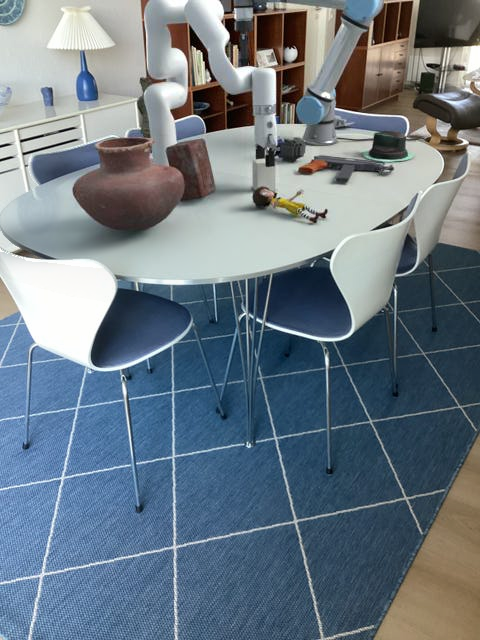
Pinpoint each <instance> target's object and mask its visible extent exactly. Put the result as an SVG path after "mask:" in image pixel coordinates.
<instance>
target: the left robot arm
mask: <svg viewBox="0 0 480 640" xmlns="http://www.w3.org/2000/svg"><path fill="white" fill-rule="evenodd" d="M143 11H144V12H143V20H144V21H143V22H144V28H145V37H146V40H145V41H146V42H145V43H146V68H147V73H148V75H149V77H150V78H152V79H153V80H165V79H166V80H165V81H161V82H156V83H152V85H151V86H149V87H148V88H147V89H146V91H145V93H144V102H145V106H146V109H147V113H148V118H149V126H150V135H151V139H153V140H154V143H153V144H152V151H151V155H152V158H151V157H150V160H151V162H152V163H154V164H158V165H164V166H169V163H168V159H167V155H166V148H167V147H170V146H172V145H175V144H177V143H178V141H177V129H176V122H175V121H176V120H175V118H174V116H173V114H172V112H171V110H175V109H177V108H181V107H183V106H184V105H185V104H186V102H187V100H188V93H189V92H188V90H189V88H188V87H189V81H188V80H189V79H188V78H189V67H188V66H189V65H188V64H189V63H188V60H187V57H186V55H185V53H184V52H183V51H182V50H181V49H179V48H176V47H172V35H171V31H170V29H169V27H168V25H172V24H173V25H174V24H189V26H190V27H191V29H192V30H193V31H194V33H195V34H196V36H197V37H198V38H199V40H200V42H201V43H202V44H203V46H204V48H205V49H206V51H207V54H208V57H207V59H208V63H209V68H210V71H211V73H212V75H213V76H214V78H215V79H216V81H217V83H218V84H219V86H220V87H221V88H222V89H223V90H224V91H225V92H226V93H228V94H230V95H233V96H235V95H239V94H244V93H248V92H252V116H254V130H253V131H254V142H255V144H254V145H255V146H254V147H255V159H265V166H266V167H273V166H275V162H276V157H275V150H276V149H275V147H276V146H277V136H278V130H277V128H278V127H277V119H276V115H277V73H276V70H275V69H274V68H272V67H256V66H251V65H249V66H245V67H241V66H240V67H234V66H233V64H232V63H231V61H230V60H229V58H228V56H227V54H226V50H225V47H226V46H227V44H228V43H229V41H230V39H231V38H230V32H229V31H228V30H227V28H226V27H225V26H224V24H223V23H222V21H223V20H224V15H225V10H224V6H223V4H222V2H221V1H220V0H148V1H147V3H146V5H145V7H144V10H143Z"/></svg>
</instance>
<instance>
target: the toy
mask: <svg viewBox="0 0 480 640" xmlns="http://www.w3.org/2000/svg"><path fill="white" fill-rule="evenodd" d="M275 149H276V150H275V158H276V157H277V158H278V159H282V161H283V162H291V163H294V162H297V161H298V159H299V160H300V159H301V158H303V157H305V154H306V144H305V143H304V142H303V140H302V139H301V138H300V137H296V136H295V137H293V139H291V138H290V139H289V138H284V140H283V139H282V138H281V137H280V135H277V146H276V147H275Z"/></svg>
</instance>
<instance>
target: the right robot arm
mask: <svg viewBox="0 0 480 640" xmlns="http://www.w3.org/2000/svg"><path fill="white" fill-rule="evenodd" d="M260 3H261V4H262V3H263V4H264V3H270V4H272V3H273V4H274V3H282V4H290V5H291V4H293V5H300V6H308V7H309V6H310V7H317V8H324V9H325V8H326V9H334V10H342V13H341V15H340V21H341V24H340V26H339V29H338V30H337V33H336V35H335V37H334V39H333V40H332V43H331V45H330V47H329V49H328V52H327V53H326V56H325V58H324V61H323V63H322V65H321V66H320V69H319V70H318V73H317V75H316V78H315V80H314V82H313V83H310V84H308V86H307V88H306V90H305V92H304V95H303V96H302V97H301V99H299V100H298V102H297V105H296V110H295V111H296V116H297V119H298V120H299V121H300V122H301V123H302V124H304V125H306V127H305V130H304V133H303V136H302V142H304V145H311V146H330V145H334V144H336V143H337V141H338V140H342V141H354V142H362V141H373V138H374V137H371V138H370V137H369V138H350V137H349V138H347V137H338V136H337V133H336V129H335V128H334V115H335V112H334V109H335V110H336V106H335V101H336V97H337V94H336V89H335V88H336V86H337V84H338V82H339V80H340V79H341V76H342V75H343V72H344V70H345V68H346V66H347V64H348V62H349V60H350V58H351V56H352V54H353V53H354V50H355V48H356V46H357V44H358V42H359V39H360V37H361V36H362V34H363V33H366V32H368V31H369V28H370V26H371V24H372V23H373V20H374V18H375V17H377V16H378V15H379V14H380V13H381V11H382V10H383V8H384V5H385V0H233V11H232V14H233V15H234V16H233V17H234V20H235V21H234V32H240V35H239V36H238V41H239V47H240V57H239V59H238V62H240V67H245V66H250V63H249V62H250V61H249V59H250V58H251V55H250V53H249V45H250V35H248V34H249V33H248V32H252V31H254V21H253V19H254V6H253V4H260ZM417 140H423V141H427V139H426V138H425V137H424V136H418V137H415V138H406V142H407V141H409V142H410V141H417Z"/></svg>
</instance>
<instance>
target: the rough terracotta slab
mask: <svg viewBox="0 0 480 640" xmlns="http://www.w3.org/2000/svg"><path fill="white" fill-rule="evenodd" d="M166 155H167V159H168V163H169V166H170V167H174V168H176V169H177V170H179V171H180V172H181V173H182V175H183V178H184V184H185V188H184V193H183V196H182V198H181V200H180V201H179V202H185V201H195V200H202V199H204V198H206V197H208V196H210V195H211V194H213V193H215V192H216V189H217V187H216V183H215V178H214V172H213V169H212V164H211V160H210V155H209V152H208V147H207V143H206V141H205V139H204V138H197V139H190V140H185V141H179V142H177V144H175V145H172V146H170V147H167V148H166Z"/></svg>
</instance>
